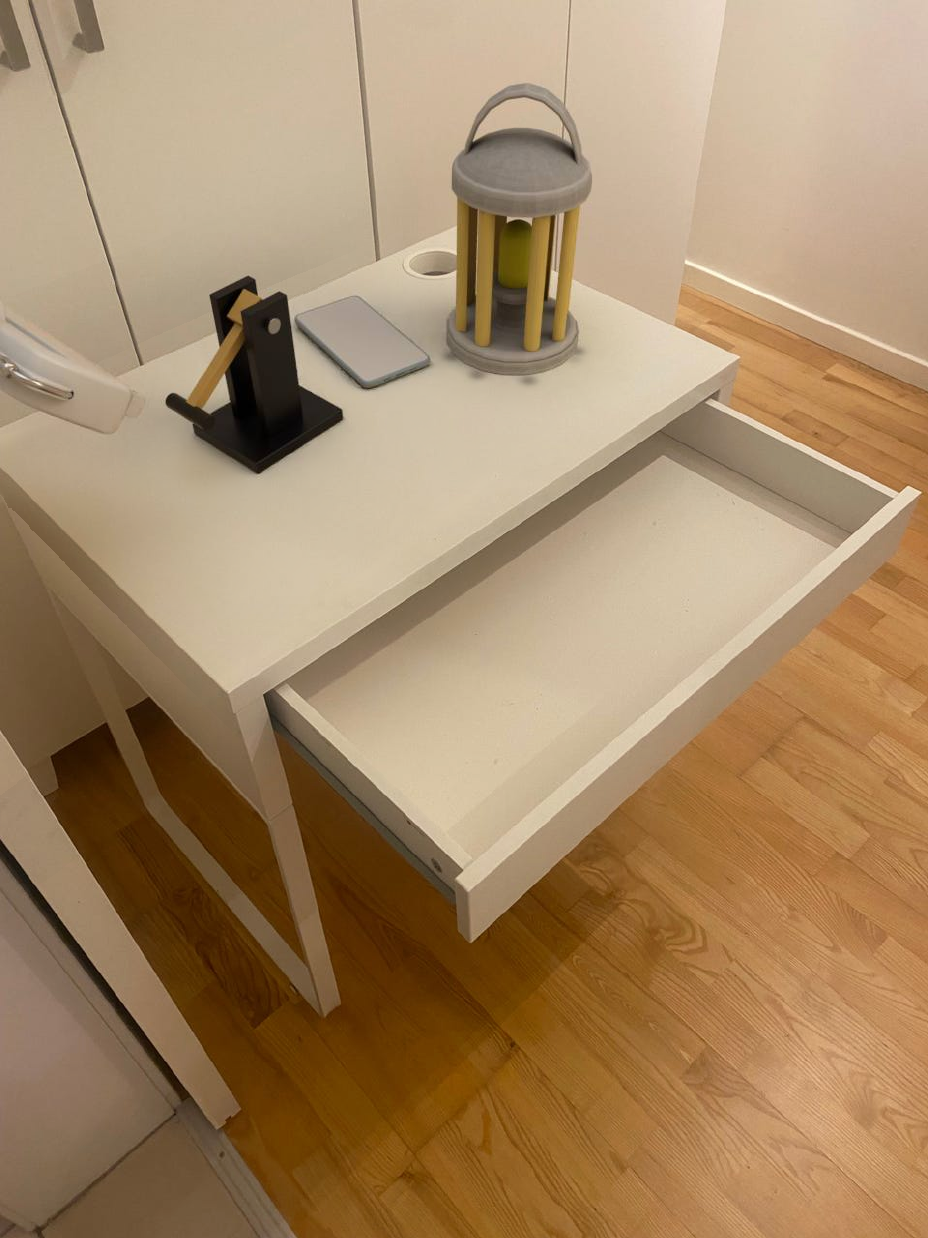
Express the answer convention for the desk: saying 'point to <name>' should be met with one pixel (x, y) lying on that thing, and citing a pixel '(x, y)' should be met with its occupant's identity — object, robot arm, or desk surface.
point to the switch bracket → (263, 385)
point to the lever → (214, 369)
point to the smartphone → (362, 341)
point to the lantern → (516, 242)
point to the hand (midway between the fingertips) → (99, 380)
